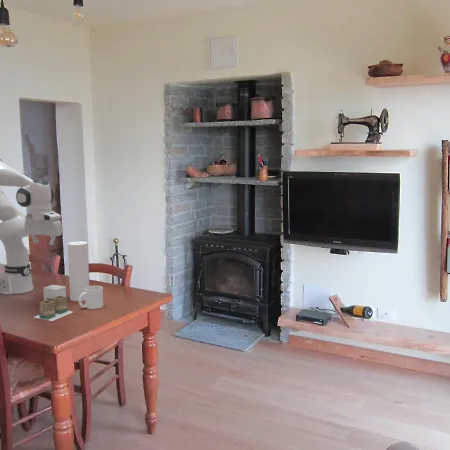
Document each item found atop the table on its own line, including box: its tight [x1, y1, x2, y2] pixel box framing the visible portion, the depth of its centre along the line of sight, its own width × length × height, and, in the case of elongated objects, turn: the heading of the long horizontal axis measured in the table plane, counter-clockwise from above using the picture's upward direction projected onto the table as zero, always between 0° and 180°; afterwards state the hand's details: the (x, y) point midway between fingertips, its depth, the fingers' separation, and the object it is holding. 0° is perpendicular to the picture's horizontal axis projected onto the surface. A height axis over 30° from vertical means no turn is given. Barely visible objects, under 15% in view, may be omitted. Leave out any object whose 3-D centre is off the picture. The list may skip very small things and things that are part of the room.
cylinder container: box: [67, 240, 90, 302], centre depth 258 cm, size 9×9×30 cm
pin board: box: [33, 310, 74, 322], centre depth 235 cm, size 11×14×6 cm
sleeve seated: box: [52, 296, 69, 314], centre depth 239 cm, size 5×5×7 cm
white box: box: [43, 284, 67, 301], centre depth 252 cm, size 8×7×9 cm
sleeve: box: [38, 300, 55, 320], centre depth 232 cm, size 5×5×7 cm
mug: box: [78, 285, 104, 310], centre depth 246 cm, size 12×8×10 cm
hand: (43, 244), depth 244 cm, fingers open, 8 cm apart
